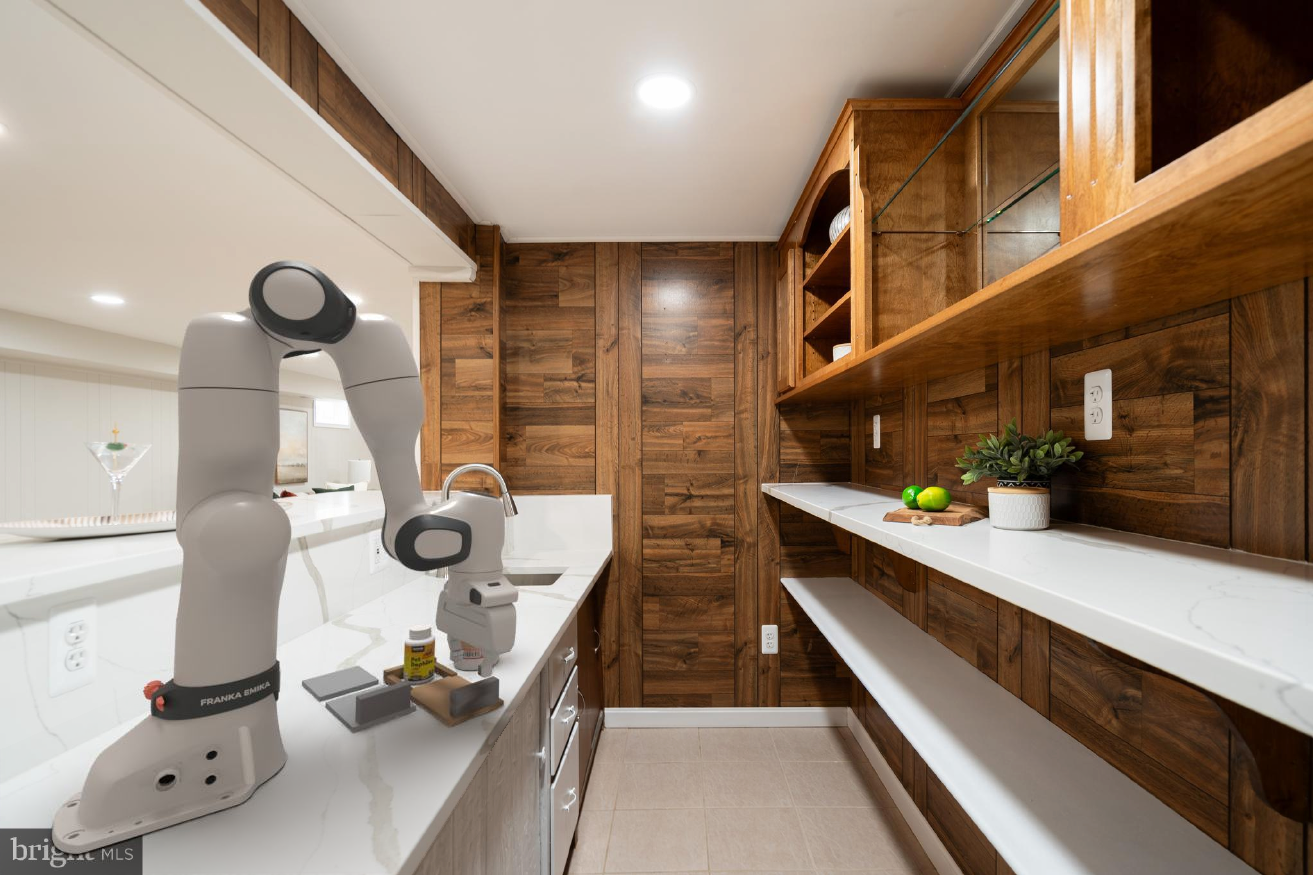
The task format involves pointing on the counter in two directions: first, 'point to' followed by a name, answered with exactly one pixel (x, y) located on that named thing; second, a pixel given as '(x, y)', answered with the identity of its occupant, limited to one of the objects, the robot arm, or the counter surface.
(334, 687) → the broken grey strip
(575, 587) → the counter surface
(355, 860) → the counter surface
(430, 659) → the supplement bottle
